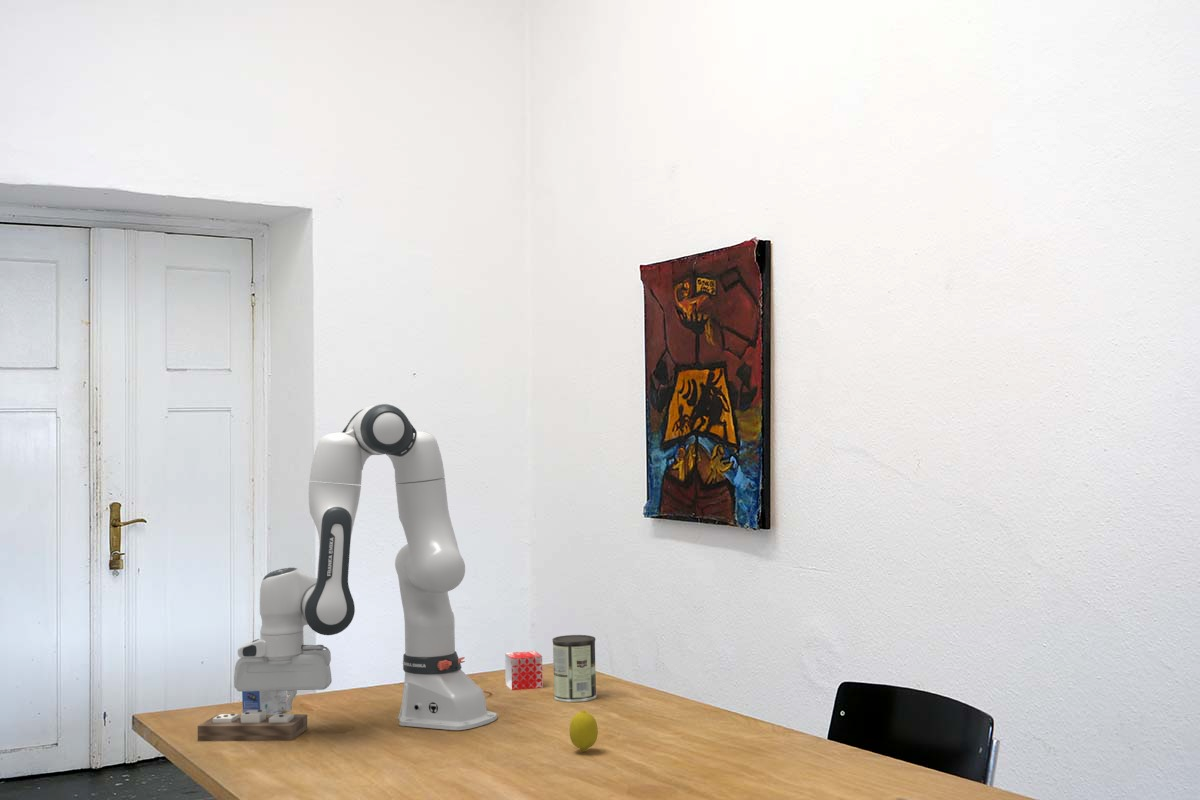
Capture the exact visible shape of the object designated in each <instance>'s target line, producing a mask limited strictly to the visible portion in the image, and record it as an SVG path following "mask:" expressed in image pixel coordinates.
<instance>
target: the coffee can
mask: <svg viewBox="0 0 1200 800" xmlns="http://www.w3.org/2000/svg"><path fill="white" fill-rule="evenodd" d="M551 641H552V647H553V648H552V652H553V653H552V654H553V657H552V658H553V699H554V700H555V701H559V702H565V703H581V702H582V703H583V702H589V701H593V700H595V699H597V682H596V681H597V680H596V671H597V670H596V637H595V636H593V635H585V634H571V635H570V634H569V635H567V634H566V635H559V636H556V637H553V638H552V640H551Z"/></svg>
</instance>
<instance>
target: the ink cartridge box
mask: <svg viewBox="0 0 1200 800" xmlns="http://www.w3.org/2000/svg"><path fill="white" fill-rule="evenodd" d="M241 693H242V694H241V697H242V698H241V699H242V701H241V702H242V714H243V713H244V712H246V711H248V710H266V715H275V714H284V712H276V704H275V703H274V701H273V700H272V698H271V697H270V691H241ZM278 696H279V698H280V700H281V702H287V700H288V697H287V696H288V695H287V690H284V691H280V693H279V694H278Z"/></svg>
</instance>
